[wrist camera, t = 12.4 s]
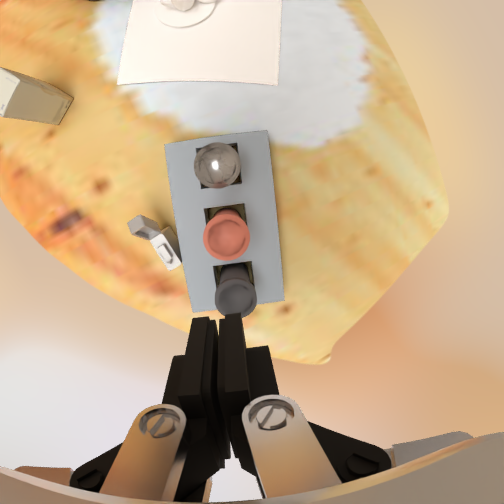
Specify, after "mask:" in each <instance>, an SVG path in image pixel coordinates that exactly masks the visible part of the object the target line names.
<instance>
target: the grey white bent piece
mask: <svg viewBox="0 0 504 504" xmlns="http://www.w3.org/2000/svg"><path fill="white" fill-rule="evenodd" d="M127 224H128V227H129V229H130V232H131V234H132V235H134V236H137V237H140V238H143V239H146V240H151V241H150V242H151V244H152V245H153V247H154V248H155V250H156V252H157V253H158V255H159V257H160V258H161V260H162V261H163V263H164V264H165V265H166V267H167V269H168V270H170V271H171V270H172V269H174V268H176V267H178V266H179V265H181V263H182V257H181V251H180V246H179V240H178V238H177V237H176V235H175V234H174V232H173V230H172V229H171V227H170V226H168V227H166V228H164V229H163V230H161V231H160V228H159V226H158V224H157V222H155V221H153V220H151V219H149V218H147V217H145V216H142V215H138V216H136V217H135V218H134V219H132V220H131V221H129V222H128V223H127Z"/></svg>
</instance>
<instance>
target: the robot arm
mask: <svg viewBox="0 0 504 504" xmlns="http://www.w3.org/2000/svg"><path fill="white" fill-rule="evenodd" d="M230 442H231V445H232V448H233V452H234V455H235V458H239V461H240V464H241V468H242V469H244V470H246V471H247V472H249V473H251V474H252V475H254V476H256V480H257V483H258V487H259V490H260V492H261V495H262V499H257V500H247V501H234V502H211V503H210V502H209V497H210V492H211V487H212V477H211V476H212V475H213V474H215V473H216V472H217V471H219V469H221V468H225V459H230V458H231V452H230ZM0 504H504V432H499V433H494V434H488V435H484V436H480V437H475V438H473V437H472V436H471V435H469V434H468V433H465V432H460V431H458V432H451V433H447V434H443V435H439V436H435V437H430V438H426V439H422V440H417V441H412V442H406V443H401V444H395V445H392V448H390V449H384V450H383V449H381V448H379V447H377V446H375V445H372V444H369V443H366V442H362V441H360V440H357V439H354V438H351V437H348V436H345V435H342V434H340V433H337V432H334V431H332V430H329V429H326V428H324V427H321V426H319V425H316V424H314V423H311V422H308V421H307V420H306V418H305V416H304V414H303V413H302V411H301V409H300V407H299V406H298V404H297V403H296V402H295V401H294V400H292V399H290V398H288V397H285V396H282V395H279V391H278V386H277V382H276V378H275V373H274V369H273V365H272V360H271V355H270V351H269V347H268V345H267V346H260V347H253V348H246V342H245V336H244V329H243V323H242V316H241V312H240V313H232V314H225V319H220V320H219V335H218V330H217V325H216V321H215V320H210V319H209V316H208V317H199V318H193V319H192V323H191V328H190V333H189V338H188V342H187V347H186V352H185V355H178V356H174V357H173V359H172V363H171V368H170V371H169V375H168V380H167V384H166V388H165V392H164V396H163V401H162V404H158V405H154V406H151V407H149V408H146V409H145V410H143V411H142V412H141V413H139V414H138V416H137V417H136V419H135V420H134V422H133V424H132V426H131V428H130V430H129V432H128V434H127V436H126V439H125V440H124V442H123V443H121V444H119V445H118V446H116V447H114V448H112V449H111V450H109V451H107V452H105V453H103V454H102V455H100V456H98V457H96V458H95V459H93V460H91V461H89V462H87V463H85V464H83V465H82V466H80V467H79V468H77V469H76V470H75V471H73V470H72V469H71V468H49V467H31V466H22V467H18V468H16V469H15V470H12V469H8V468H4V467H0Z"/></svg>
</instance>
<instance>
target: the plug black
mask: <svg viewBox="0 0 504 504" xmlns="http://www.w3.org/2000/svg"><path fill="white" fill-rule="evenodd" d="M256 304H257V295H256V291H255V288H254V287H253V285H252V284H251V283H250V279H249V274H248V269H247V267H246V265H245V264H244V263H243V262H240V263H232V264H224V265H223V266H222V268H221V271H220V284H219V286H218V287H217V289H216V292H215V305H216V308H217V309H218V311H219V312H220V313H221V314H222V315H224V316H225V314H232V313H240V312H241V316H242V318H243V317H246V316H247V315H249V314H250V313H251V312H252V311H253V310H254V309H255V307H256Z"/></svg>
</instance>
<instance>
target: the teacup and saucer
mask: <svg viewBox="0 0 504 504" xmlns="http://www.w3.org/2000/svg"><path fill="white" fill-rule="evenodd" d="M216 1H217V0H155V2H154V6H153V13H154V16H155V18H156V19H157V20H158V21H159V22H160V23H161V24H163V25H165V26H168V27H172V28H186V27H191V26H194V25H196V24H199V23H201V22H202V21H204V20H205V19H206V18H208V17H209V16H210V15H211V13H212V12H213V11H214V9H215V6H216Z"/></svg>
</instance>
